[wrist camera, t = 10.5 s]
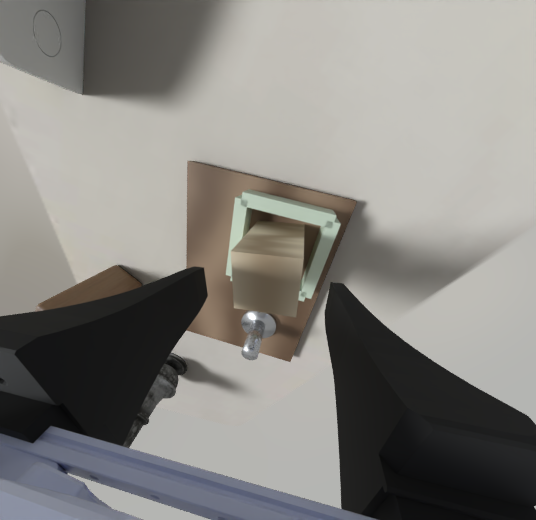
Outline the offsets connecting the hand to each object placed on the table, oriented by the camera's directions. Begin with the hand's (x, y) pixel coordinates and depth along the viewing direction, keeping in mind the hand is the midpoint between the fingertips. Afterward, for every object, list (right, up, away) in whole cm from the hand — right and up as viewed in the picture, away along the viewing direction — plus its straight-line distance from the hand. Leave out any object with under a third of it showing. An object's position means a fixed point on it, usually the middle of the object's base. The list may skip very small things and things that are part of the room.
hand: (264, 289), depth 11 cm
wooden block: (-18, -1, +14) cm, 23 cm away
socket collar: (+1, +3, +7) cm, 7 cm away
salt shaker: (-15, -15, +20) cm, 29 cm away
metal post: (-1, -5, +11) cm, 13 cm away
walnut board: (-1, 0, +10) cm, 10 cm away
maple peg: (+1, +3, +7) cm, 7 cm away
